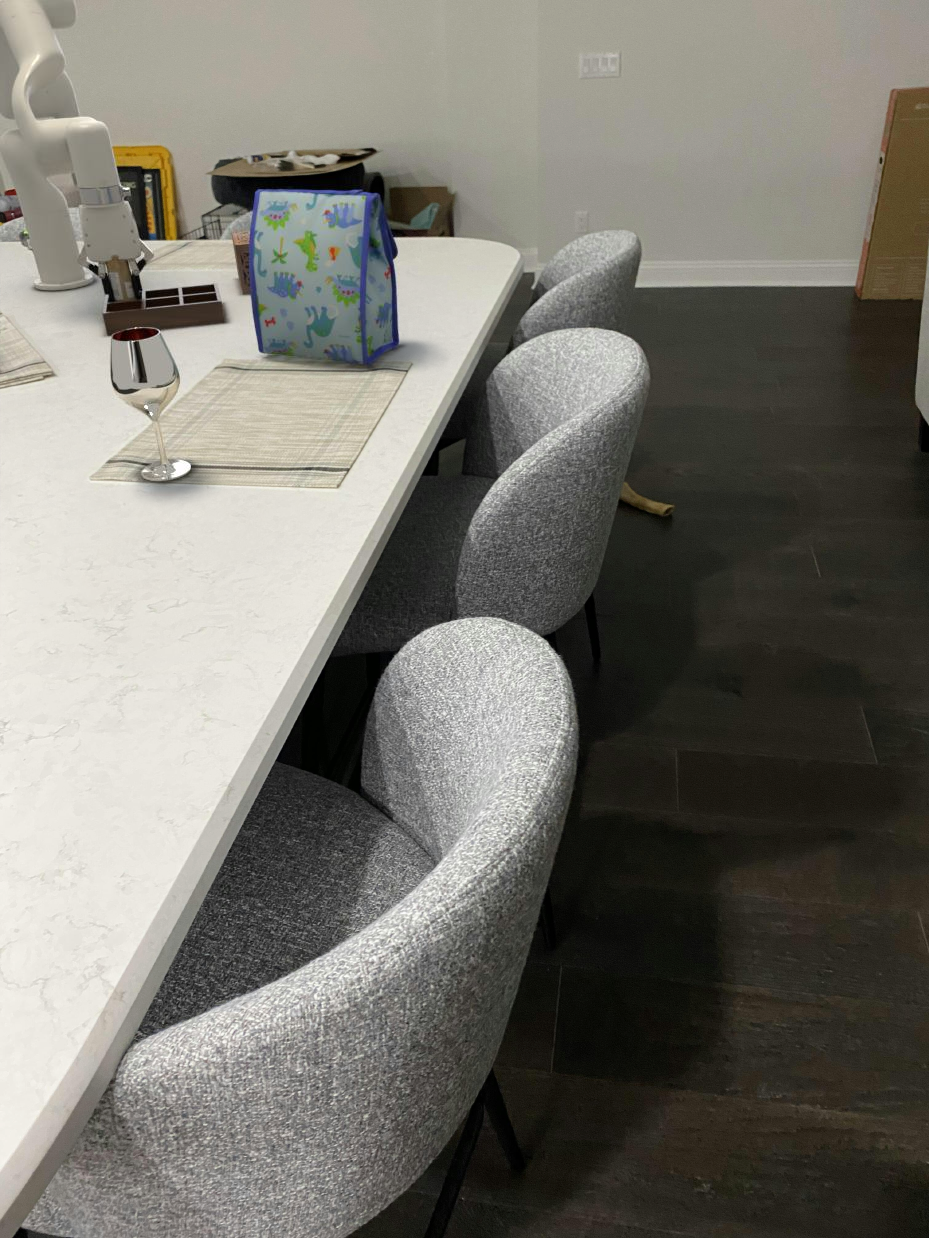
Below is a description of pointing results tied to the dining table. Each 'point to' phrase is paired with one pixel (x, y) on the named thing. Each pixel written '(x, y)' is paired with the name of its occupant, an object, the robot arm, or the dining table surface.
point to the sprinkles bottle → (120, 278)
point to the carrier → (165, 309)
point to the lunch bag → (323, 275)
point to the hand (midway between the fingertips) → (124, 295)
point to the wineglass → (147, 387)
